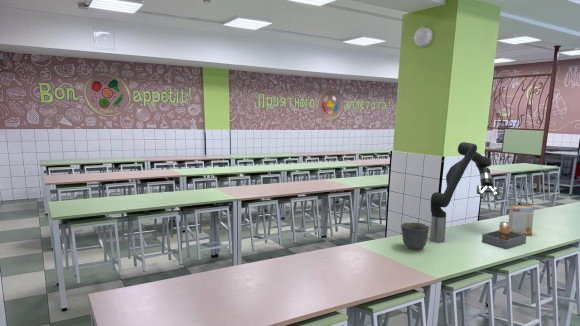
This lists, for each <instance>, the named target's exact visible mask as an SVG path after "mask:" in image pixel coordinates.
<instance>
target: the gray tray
mask: <svg viewBox="0 0 580 326" xmlns="http://www.w3.org/2000/svg"><path fill="white" fill-rule="evenodd" d="M481 243H483V244H486V245H490V246H493V247H495V248H496V247H498V248H500V249H503V250H509V249H511V248H512V249H513V248H515V247H518V246H521V245H524V244H526V243H527V236H526V235H523V234H520V233H516V232H512V231H510V235H509V240H502V239H499V229H498V230H494V231H489V232H485V233H482V236H481Z"/></svg>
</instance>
